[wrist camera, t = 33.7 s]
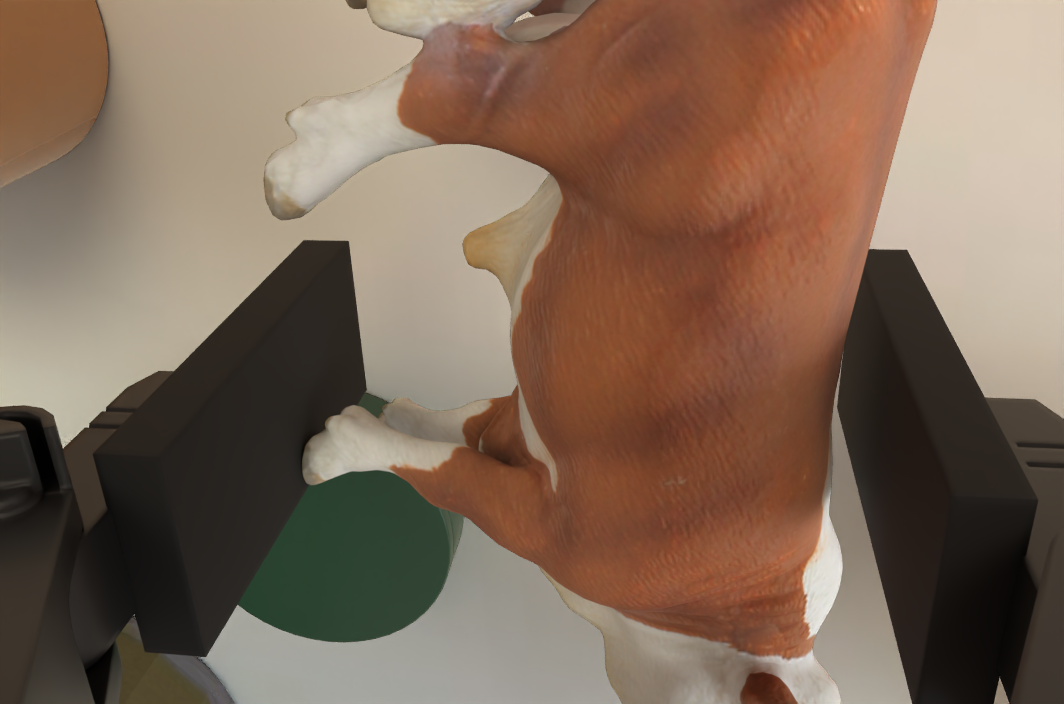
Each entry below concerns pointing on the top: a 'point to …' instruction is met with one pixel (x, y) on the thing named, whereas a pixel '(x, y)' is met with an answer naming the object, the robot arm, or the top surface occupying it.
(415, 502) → the lid
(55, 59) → the jar
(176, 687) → the canister
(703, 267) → the bull figurine
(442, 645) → the top surface
